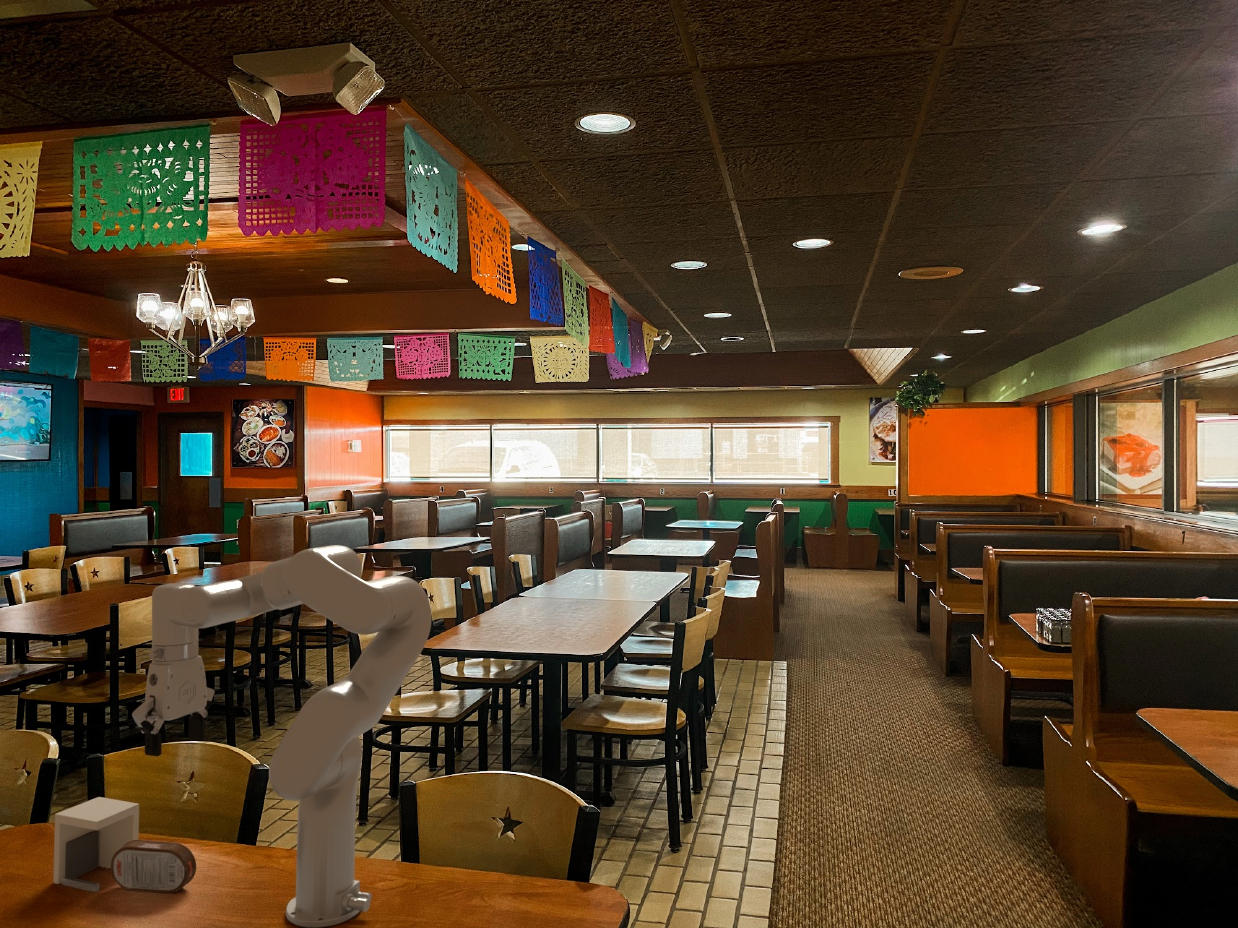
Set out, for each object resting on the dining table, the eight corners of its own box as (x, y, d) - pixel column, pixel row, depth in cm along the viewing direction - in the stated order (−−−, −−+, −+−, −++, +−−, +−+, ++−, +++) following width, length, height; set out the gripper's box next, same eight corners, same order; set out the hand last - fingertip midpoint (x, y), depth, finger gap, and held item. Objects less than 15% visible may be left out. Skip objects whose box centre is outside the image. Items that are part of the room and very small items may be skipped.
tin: (196, 888, 157) (197, 841, 157) (186, 896, 154) (187, 848, 154) (118, 882, 158) (119, 836, 158) (107, 891, 155) (108, 843, 155)
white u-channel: (137, 870, 163) (139, 803, 163) (95, 891, 155) (96, 821, 155) (97, 861, 166) (98, 796, 167) (53, 882, 158) (55, 813, 158)
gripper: (151, 663, 148) (151, 763, 148) (227, 644, 165) (227, 735, 164) (118, 660, 151) (118, 759, 150) (196, 642, 167) (196, 731, 167)
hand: (175, 746), depth 157 cm, fingers open, 9 cm apart
